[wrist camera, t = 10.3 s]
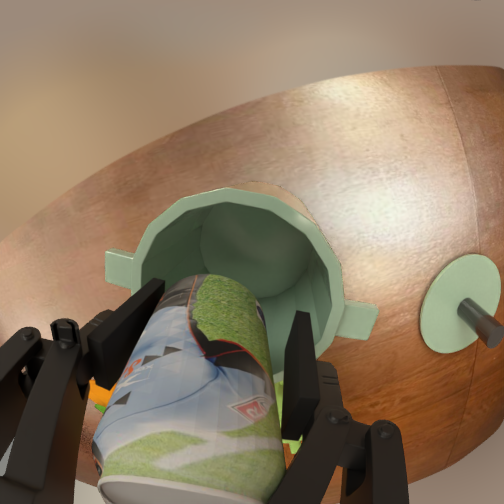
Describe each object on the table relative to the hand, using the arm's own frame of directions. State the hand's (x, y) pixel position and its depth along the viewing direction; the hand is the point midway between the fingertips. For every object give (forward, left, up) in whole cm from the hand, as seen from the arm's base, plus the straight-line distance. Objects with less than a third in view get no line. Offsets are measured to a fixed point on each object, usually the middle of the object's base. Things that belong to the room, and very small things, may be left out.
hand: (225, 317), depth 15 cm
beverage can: (0, 0, -1) cm, 1 cm away
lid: (+2, +29, -16) cm, 33 cm away
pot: (0, 0, -16) cm, 16 cm away
